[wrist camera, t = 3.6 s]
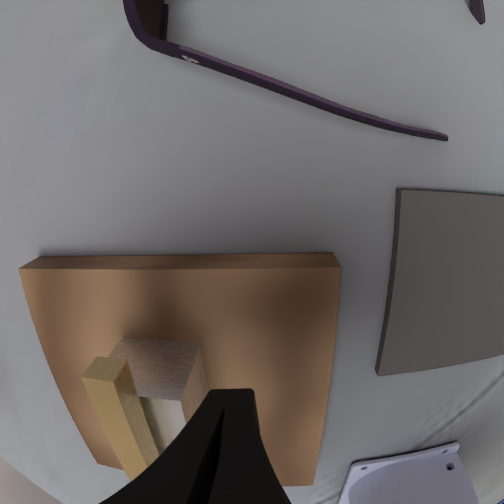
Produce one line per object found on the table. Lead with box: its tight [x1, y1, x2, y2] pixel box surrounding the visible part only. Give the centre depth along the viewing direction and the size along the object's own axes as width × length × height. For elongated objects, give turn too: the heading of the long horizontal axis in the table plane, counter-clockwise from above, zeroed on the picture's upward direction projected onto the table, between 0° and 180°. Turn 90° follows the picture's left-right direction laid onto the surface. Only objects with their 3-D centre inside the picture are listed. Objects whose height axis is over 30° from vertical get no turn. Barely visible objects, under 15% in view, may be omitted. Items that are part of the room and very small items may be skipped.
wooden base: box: [19, 252, 341, 486], centre depth 15 cm, size 16×16×6 cm
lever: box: [81, 356, 159, 481], centre depth 11 cm, size 14×2×1 cm, turn 2°
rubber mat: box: [375, 188, 504, 376], centre depth 14 cm, size 10×10×1 cm
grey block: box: [107, 337, 208, 455], centre depth 13 cm, size 4×6×4 cm, turn 2°
